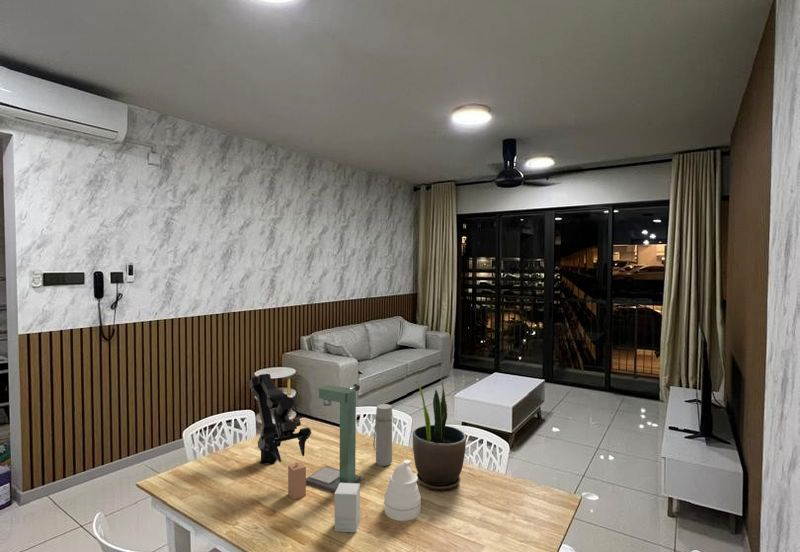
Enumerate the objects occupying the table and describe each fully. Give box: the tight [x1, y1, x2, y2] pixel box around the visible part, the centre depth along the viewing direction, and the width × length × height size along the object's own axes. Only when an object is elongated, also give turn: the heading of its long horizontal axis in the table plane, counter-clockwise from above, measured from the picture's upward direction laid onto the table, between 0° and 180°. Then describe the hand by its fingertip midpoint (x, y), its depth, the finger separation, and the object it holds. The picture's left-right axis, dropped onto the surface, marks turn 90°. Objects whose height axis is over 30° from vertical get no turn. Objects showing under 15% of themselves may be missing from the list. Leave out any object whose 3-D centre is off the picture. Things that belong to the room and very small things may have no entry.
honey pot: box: [383, 459, 422, 522], centre depth 150 cm, size 13×13×18 cm
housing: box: [287, 461, 307, 501], centre depth 159 cm, size 5×5×12 cm
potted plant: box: [412, 381, 467, 493], centre depth 170 cm, size 21×22×40 cm
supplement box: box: [333, 483, 361, 533], centre depth 140 cm, size 7×7×13 cm
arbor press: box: [306, 383, 362, 493], centre depth 172 cm, size 18×20×38 cm
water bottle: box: [373, 403, 394, 467], centre depth 186 cm, size 9×8×25 cm
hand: (292, 458), depth 163 cm, fingers open, 9 cm apart
